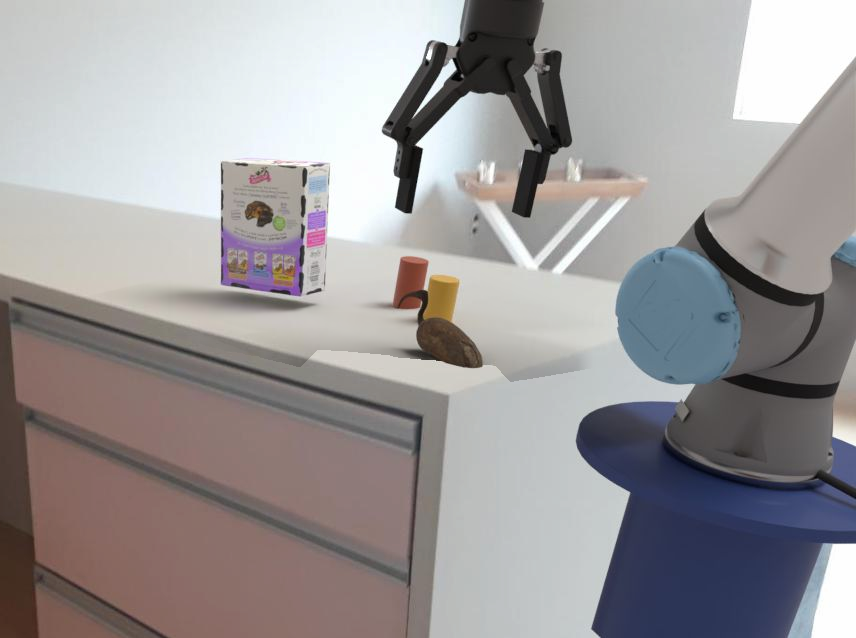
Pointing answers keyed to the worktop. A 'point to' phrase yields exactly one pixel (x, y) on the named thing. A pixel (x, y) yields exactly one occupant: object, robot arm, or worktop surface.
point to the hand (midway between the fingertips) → (462, 213)
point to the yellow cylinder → (441, 297)
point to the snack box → (274, 225)
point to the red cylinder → (410, 281)
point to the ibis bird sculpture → (444, 338)
